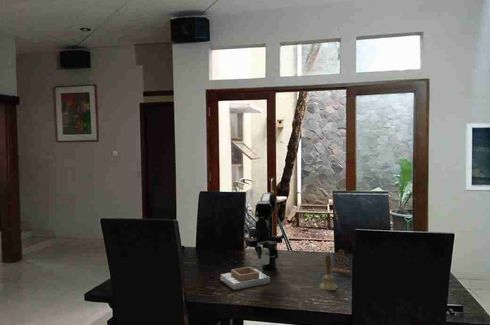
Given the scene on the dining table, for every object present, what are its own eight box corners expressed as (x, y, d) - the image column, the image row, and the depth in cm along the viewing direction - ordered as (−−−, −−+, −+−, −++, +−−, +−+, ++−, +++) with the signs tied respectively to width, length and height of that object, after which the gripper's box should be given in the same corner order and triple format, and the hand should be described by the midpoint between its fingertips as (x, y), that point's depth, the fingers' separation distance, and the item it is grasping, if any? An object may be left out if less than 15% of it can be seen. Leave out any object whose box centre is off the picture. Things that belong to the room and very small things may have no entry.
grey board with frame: (254, 274, 218) (254, 264, 218) (269, 283, 204) (269, 272, 203) (220, 280, 209) (220, 269, 209) (233, 289, 195) (233, 278, 194)
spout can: (265, 261, 206) (265, 247, 206) (272, 264, 200) (272, 250, 200) (257, 262, 204) (257, 248, 203) (264, 266, 198) (264, 252, 197)
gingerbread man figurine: (350, 272, 220) (350, 250, 219) (348, 274, 216) (348, 251, 216) (334, 269, 224) (334, 248, 224) (331, 271, 221) (331, 249, 220)
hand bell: (327, 291, 191) (327, 258, 190) (316, 286, 198) (316, 254, 198) (341, 288, 195) (341, 255, 194) (330, 283, 202) (329, 251, 201)
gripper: (271, 222, 213) (271, 251, 214) (239, 226, 205) (240, 256, 205) (282, 226, 203) (283, 256, 204) (250, 230, 195) (250, 262, 195)
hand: (264, 258), depth 203 cm, fingers closed on spout can, 5 cm apart
